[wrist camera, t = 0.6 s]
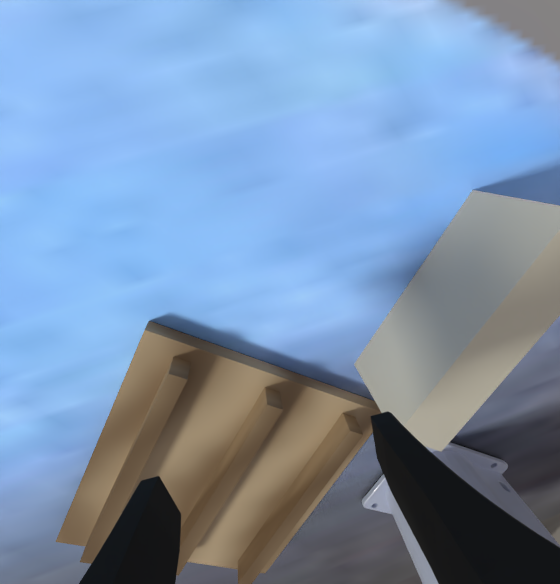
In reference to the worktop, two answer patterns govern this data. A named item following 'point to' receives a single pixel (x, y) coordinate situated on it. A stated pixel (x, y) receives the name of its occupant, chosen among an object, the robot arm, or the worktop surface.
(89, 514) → the ridged tan board
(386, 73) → the worktop surface
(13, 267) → the worktop surface
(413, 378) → the cream rectangular block
